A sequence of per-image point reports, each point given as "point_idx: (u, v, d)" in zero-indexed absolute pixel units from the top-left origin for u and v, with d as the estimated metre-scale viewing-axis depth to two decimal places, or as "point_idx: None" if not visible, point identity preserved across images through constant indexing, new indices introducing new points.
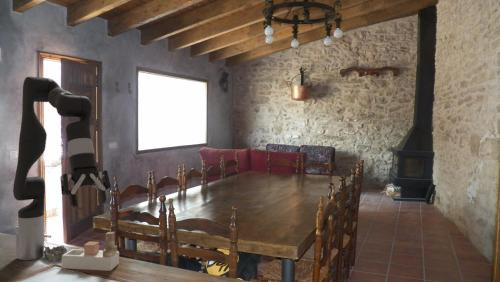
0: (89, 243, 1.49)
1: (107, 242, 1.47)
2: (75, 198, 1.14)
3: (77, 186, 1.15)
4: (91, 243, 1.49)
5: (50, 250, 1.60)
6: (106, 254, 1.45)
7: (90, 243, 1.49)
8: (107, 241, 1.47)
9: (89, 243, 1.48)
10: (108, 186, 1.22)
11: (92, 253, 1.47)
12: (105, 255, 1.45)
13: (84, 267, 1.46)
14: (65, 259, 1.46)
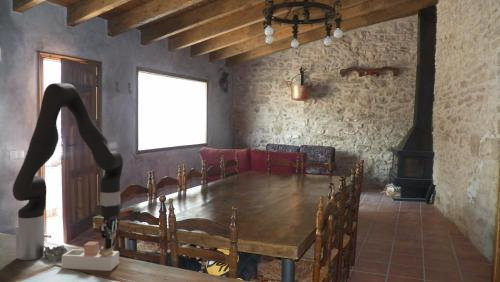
0: (89, 243, 1.49)
1: None
2: (111, 241, 1.47)
3: (112, 231, 1.46)
4: (91, 243, 1.49)
5: (50, 250, 1.60)
6: (103, 253, 1.46)
7: (90, 243, 1.49)
8: None
9: (89, 243, 1.48)
10: (117, 231, 1.51)
11: (92, 253, 1.47)
12: (101, 253, 1.46)
13: (84, 267, 1.46)
14: (65, 259, 1.46)
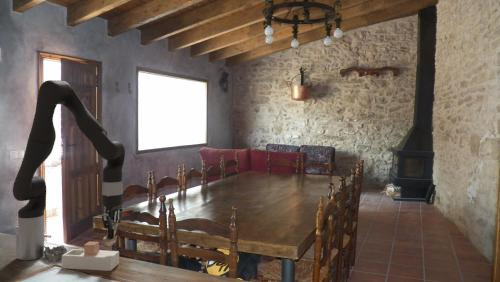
0: (89, 243, 1.49)
1: None
2: (113, 231, 1.46)
3: (114, 221, 1.46)
4: (91, 243, 1.49)
5: (50, 250, 1.60)
6: (105, 243, 1.45)
7: (90, 243, 1.49)
8: None
9: (89, 243, 1.48)
10: (119, 221, 1.51)
11: (92, 253, 1.47)
12: (104, 243, 1.45)
13: (84, 267, 1.46)
14: (65, 259, 1.46)
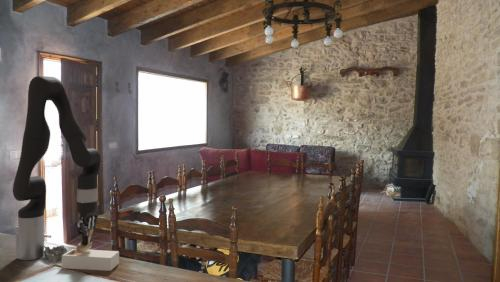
0: None
1: None
2: (87, 238, 1.47)
3: (89, 228, 1.47)
4: None
5: (50, 250, 1.60)
6: (80, 249, 1.46)
7: None
8: None
9: None
10: (94, 228, 1.52)
11: None
12: (79, 250, 1.46)
13: (84, 267, 1.46)
14: (65, 259, 1.46)
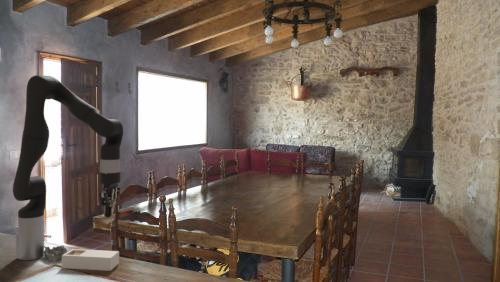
0: None
1: None
2: (111, 209, 1.46)
3: (112, 199, 1.46)
4: None
5: (50, 250, 1.60)
6: (103, 220, 1.45)
7: None
8: None
9: None
10: (117, 200, 1.51)
11: None
12: (102, 221, 1.45)
13: (84, 267, 1.46)
14: (65, 259, 1.46)
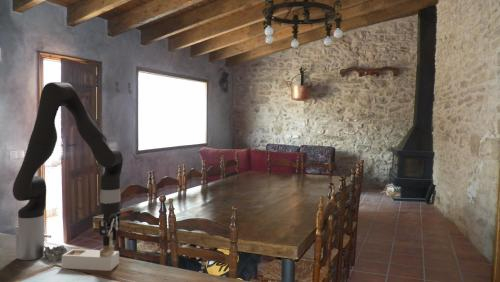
0: None
1: None
2: (109, 239, 1.45)
3: (111, 229, 1.45)
4: None
5: (50, 250, 1.60)
6: (103, 254, 1.46)
7: None
8: None
9: None
10: (119, 226, 1.53)
11: None
12: (102, 254, 1.46)
13: (84, 267, 1.46)
14: (65, 259, 1.46)
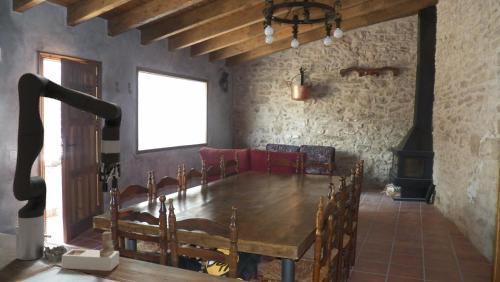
0: None
1: (104, 242, 1.47)
2: (107, 185, 1.53)
3: (110, 177, 1.54)
4: None
5: (50, 250, 1.60)
6: (103, 254, 1.46)
7: None
8: (104, 241, 1.47)
9: None
10: (119, 176, 1.64)
11: None
12: (102, 255, 1.46)
13: (84, 267, 1.46)
14: (65, 259, 1.46)
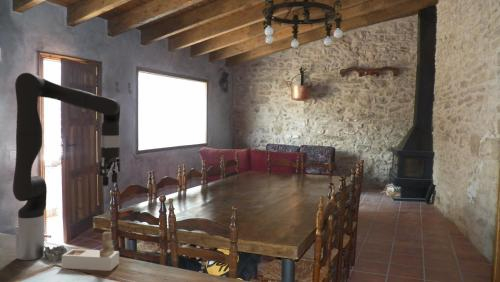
0: None
1: (104, 242, 1.47)
2: (108, 179, 1.57)
3: (110, 171, 1.58)
4: None
5: (50, 250, 1.60)
6: (103, 254, 1.46)
7: None
8: (104, 241, 1.47)
9: None
10: (119, 170, 1.68)
11: None
12: (102, 255, 1.46)
13: (84, 267, 1.46)
14: (65, 259, 1.46)
